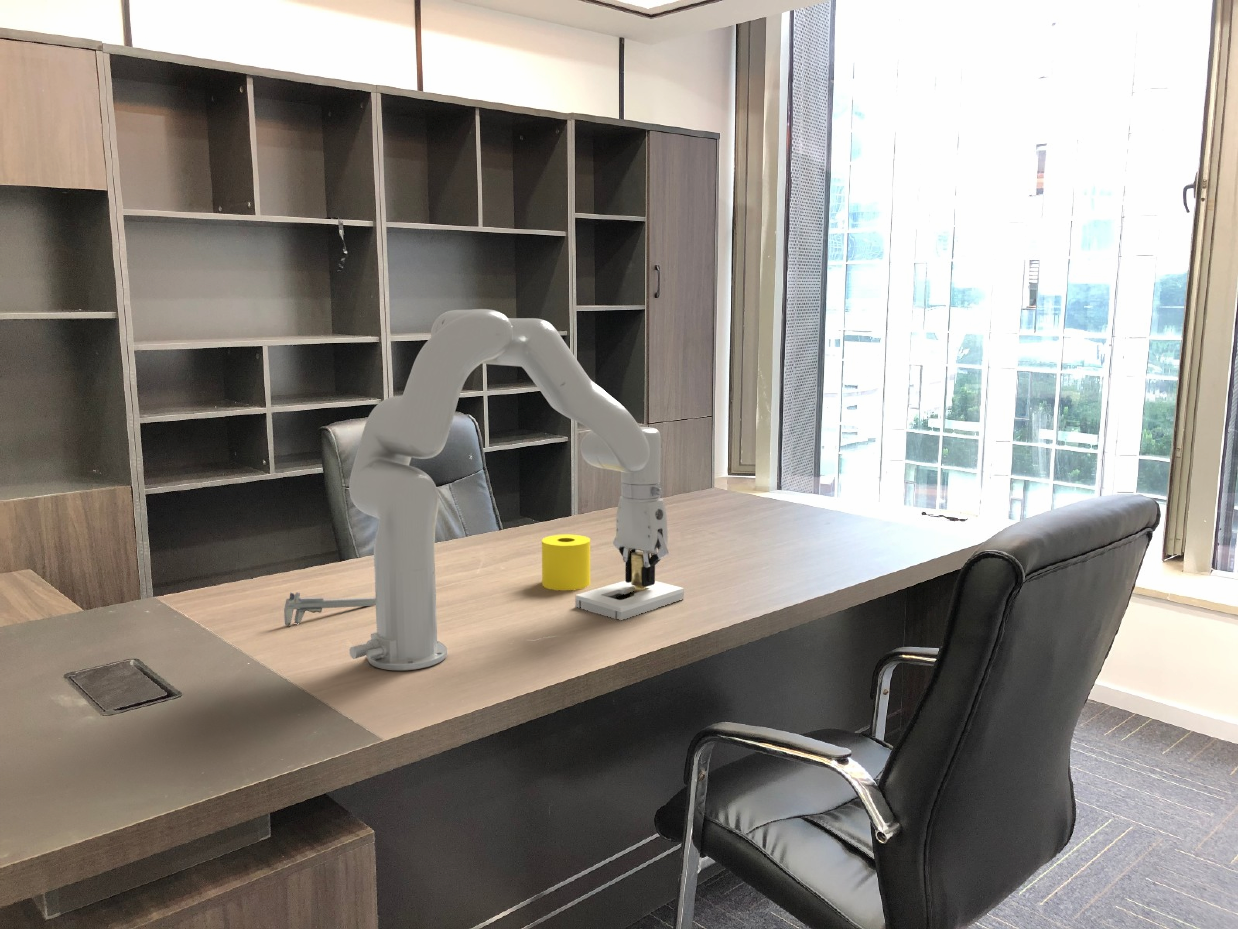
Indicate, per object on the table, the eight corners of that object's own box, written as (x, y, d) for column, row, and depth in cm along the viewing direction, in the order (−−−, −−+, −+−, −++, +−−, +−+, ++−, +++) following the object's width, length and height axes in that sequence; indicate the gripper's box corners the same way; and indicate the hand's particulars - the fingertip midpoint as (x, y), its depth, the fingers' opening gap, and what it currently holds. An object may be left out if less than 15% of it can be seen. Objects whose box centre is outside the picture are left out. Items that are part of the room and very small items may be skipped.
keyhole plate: (621, 620, 174) (621, 608, 173) (575, 607, 182) (575, 595, 181) (683, 599, 186) (683, 588, 186) (638, 588, 195) (638, 576, 194)
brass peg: (640, 603, 183) (641, 557, 182) (625, 599, 186) (625, 554, 185) (654, 599, 186) (654, 553, 185) (639, 595, 189) (639, 550, 188)
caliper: (287, 629, 169) (286, 595, 168) (284, 627, 170) (283, 594, 169) (385, 604, 184) (383, 572, 183) (381, 602, 185) (380, 571, 184)
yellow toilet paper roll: (560, 575, 204) (559, 532, 203) (599, 581, 199) (599, 538, 198) (532, 586, 196) (532, 541, 195) (573, 593, 191) (572, 547, 189)
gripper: (686, 494, 180) (685, 587, 183) (622, 483, 191) (622, 572, 194) (660, 499, 175) (659, 595, 177) (596, 488, 186) (596, 579, 188)
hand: (640, 582), depth 186 cm, fingers closed on brass peg, 3 cm apart
